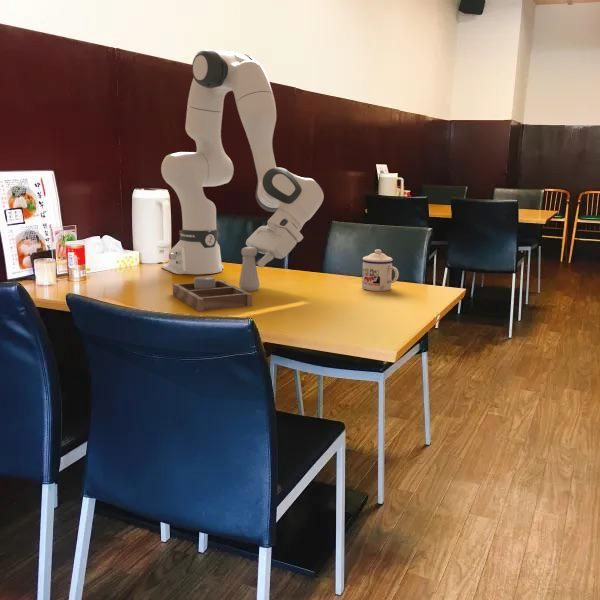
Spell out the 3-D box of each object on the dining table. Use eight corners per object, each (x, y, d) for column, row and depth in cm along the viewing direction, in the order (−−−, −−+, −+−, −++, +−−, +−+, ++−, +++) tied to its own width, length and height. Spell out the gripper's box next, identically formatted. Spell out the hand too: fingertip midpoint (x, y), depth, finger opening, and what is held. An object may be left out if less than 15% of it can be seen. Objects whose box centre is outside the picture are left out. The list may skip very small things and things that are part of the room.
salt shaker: (256, 295, 174) (256, 249, 171) (236, 294, 175) (236, 248, 172) (261, 291, 179) (261, 246, 176) (242, 290, 180) (242, 245, 178)
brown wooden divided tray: (173, 298, 168) (172, 283, 167) (221, 293, 175) (221, 279, 174) (199, 315, 151) (198, 299, 150) (252, 309, 157) (252, 294, 156)
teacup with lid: (354, 288, 185) (356, 249, 183) (373, 284, 192) (374, 246, 189) (387, 294, 177) (389, 254, 175) (405, 290, 184) (408, 251, 181)
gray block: (190, 296, 167) (189, 278, 165) (207, 293, 170) (207, 275, 169) (202, 299, 163) (202, 281, 162) (219, 296, 166) (219, 278, 165)
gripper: (260, 216, 185) (229, 251, 183) (292, 223, 168) (259, 261, 165) (273, 231, 188) (243, 265, 186) (306, 238, 171) (274, 276, 168)
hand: (251, 263), depth 176 cm, fingers open, 8 cm apart
